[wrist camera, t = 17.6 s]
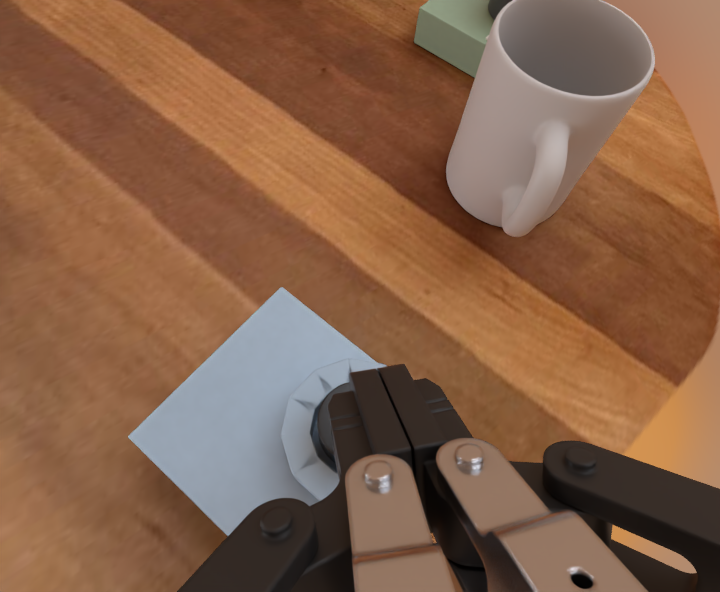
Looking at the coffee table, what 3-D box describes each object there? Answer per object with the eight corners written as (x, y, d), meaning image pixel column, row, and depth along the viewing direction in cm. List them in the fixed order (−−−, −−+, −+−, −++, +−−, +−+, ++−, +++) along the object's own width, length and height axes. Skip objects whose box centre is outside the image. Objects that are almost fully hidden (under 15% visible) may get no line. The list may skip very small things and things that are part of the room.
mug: (452, 124, 36) (498, -25, 27) (564, 147, 36) (653, 4, 26) (429, 259, 31) (476, 135, 21) (560, 286, 31) (669, 173, 21)
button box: (433, 435, 26) (460, 411, 21) (311, 602, 23) (306, 626, 17) (287, 316, 29) (277, 267, 24) (155, 449, 25) (108, 428, 20)
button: (406, 425, 21) (414, 415, 19) (360, 486, 20) (364, 482, 18) (350, 379, 22) (352, 365, 20) (302, 434, 21) (299, 425, 19)
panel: (594, 51, 41) (614, 15, 38) (536, 114, 37) (553, 80, 35) (478, -12, 44) (488, -49, 41) (413, 42, 40) (419, 5, 37)
